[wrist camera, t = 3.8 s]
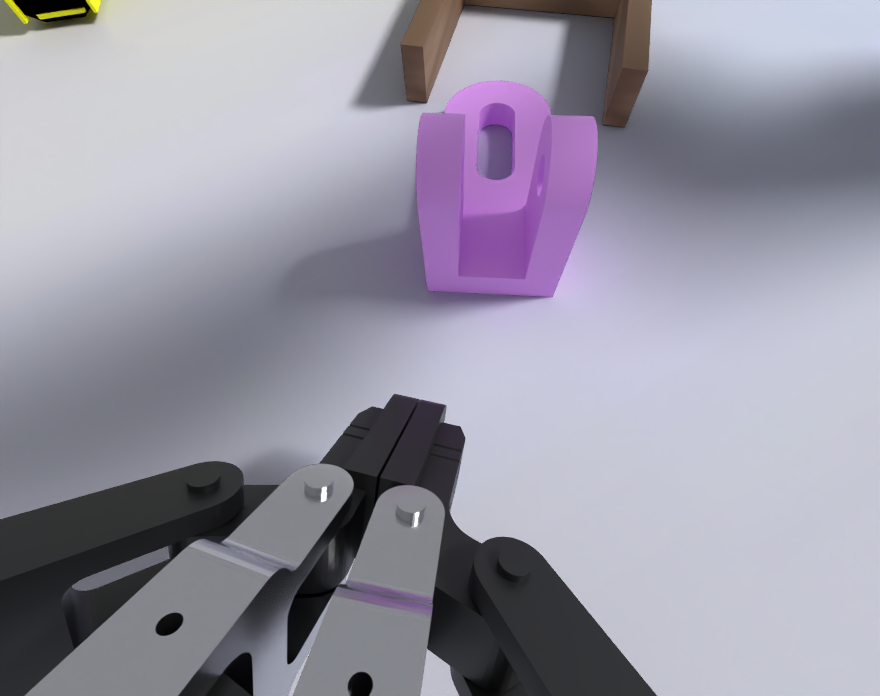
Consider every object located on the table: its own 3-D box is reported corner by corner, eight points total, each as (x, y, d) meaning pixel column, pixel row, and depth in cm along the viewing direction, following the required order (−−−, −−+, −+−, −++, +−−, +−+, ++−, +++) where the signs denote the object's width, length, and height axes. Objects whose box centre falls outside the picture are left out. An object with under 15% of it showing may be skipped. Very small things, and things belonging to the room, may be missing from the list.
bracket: (551, 298, 18) (602, 172, 12) (427, 292, 19) (412, 167, 12) (544, 105, 24) (576, -52, 17) (448, 104, 24) (445, -51, 18)
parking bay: (634, 9, 27) (654, -50, 24) (624, 127, 22) (647, 70, 20) (451, -7, 29) (450, -65, 26) (406, 100, 24) (400, 44, 21)
